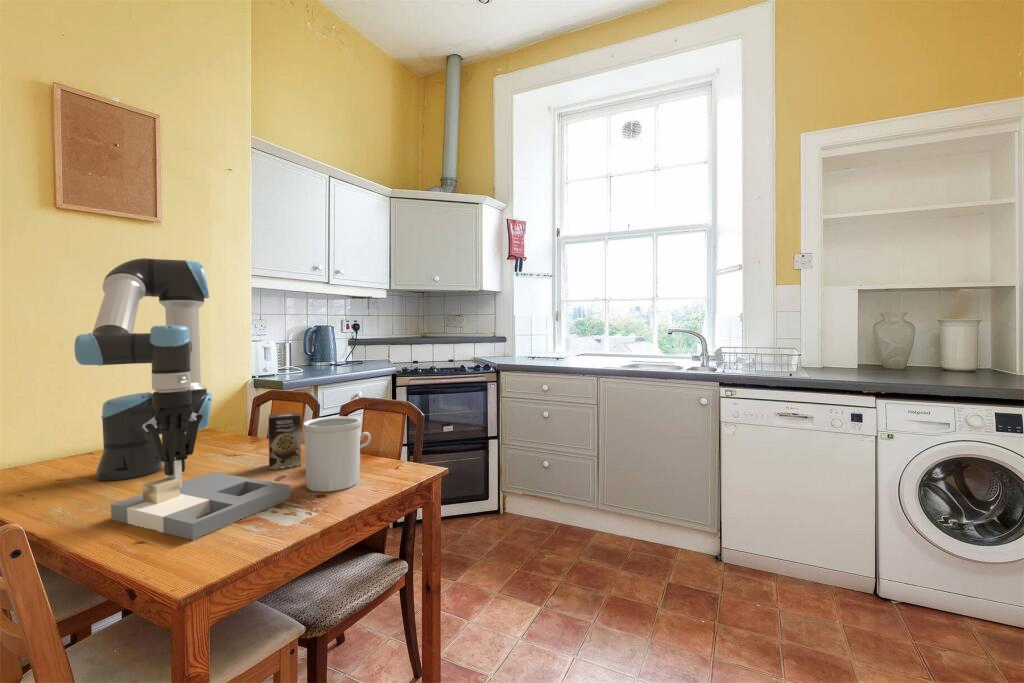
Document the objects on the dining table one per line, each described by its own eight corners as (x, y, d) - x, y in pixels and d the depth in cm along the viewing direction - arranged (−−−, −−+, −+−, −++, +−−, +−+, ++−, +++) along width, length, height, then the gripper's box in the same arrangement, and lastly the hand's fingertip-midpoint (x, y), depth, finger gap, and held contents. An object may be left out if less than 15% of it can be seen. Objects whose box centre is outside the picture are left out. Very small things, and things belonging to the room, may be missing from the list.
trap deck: (111, 519, 104) (110, 504, 103) (214, 484, 126) (214, 472, 126) (193, 540, 93) (192, 523, 93) (290, 498, 115) (289, 485, 115)
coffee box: (268, 470, 138) (267, 417, 137) (269, 464, 144) (267, 414, 143) (302, 466, 142) (300, 415, 142) (300, 460, 148) (299, 411, 147)
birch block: (143, 500, 105) (142, 483, 105) (166, 493, 110) (165, 477, 110) (156, 504, 103) (156, 486, 103) (179, 496, 108) (179, 479, 108)
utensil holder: (325, 473, 135) (324, 414, 135) (371, 476, 132) (370, 416, 132) (292, 490, 121) (291, 425, 120) (342, 494, 118) (341, 427, 117)
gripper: (151, 394, 101) (155, 499, 102) (209, 387, 113) (212, 480, 114) (131, 392, 104) (135, 494, 105) (189, 385, 116) (192, 476, 117)
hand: (175, 486), depth 110 cm, fingers closed
